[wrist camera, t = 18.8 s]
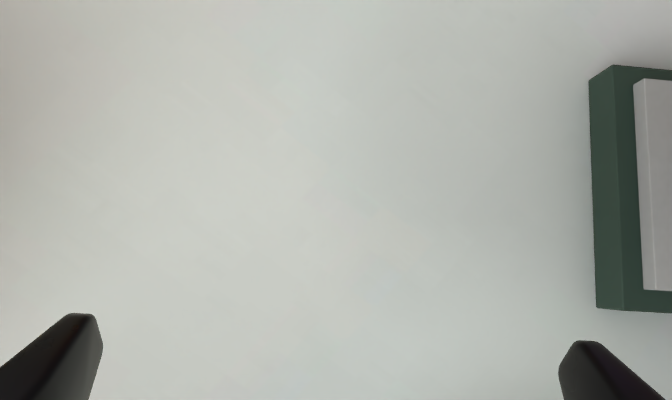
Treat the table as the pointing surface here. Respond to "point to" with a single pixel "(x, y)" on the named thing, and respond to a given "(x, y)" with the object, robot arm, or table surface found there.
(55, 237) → the table surface
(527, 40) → the table surface
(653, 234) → the scale
